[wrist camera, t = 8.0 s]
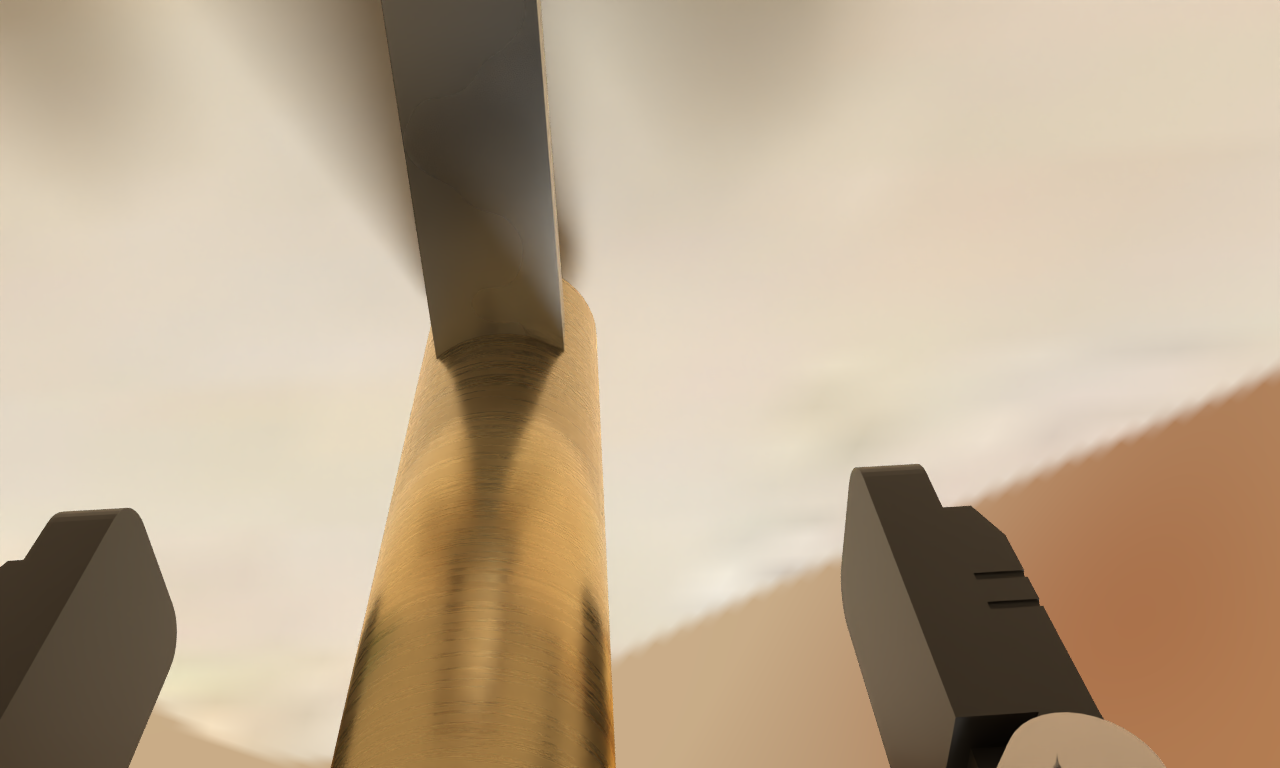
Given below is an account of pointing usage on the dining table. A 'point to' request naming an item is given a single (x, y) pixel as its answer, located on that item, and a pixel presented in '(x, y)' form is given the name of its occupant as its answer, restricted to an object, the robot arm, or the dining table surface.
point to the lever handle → (488, 433)
